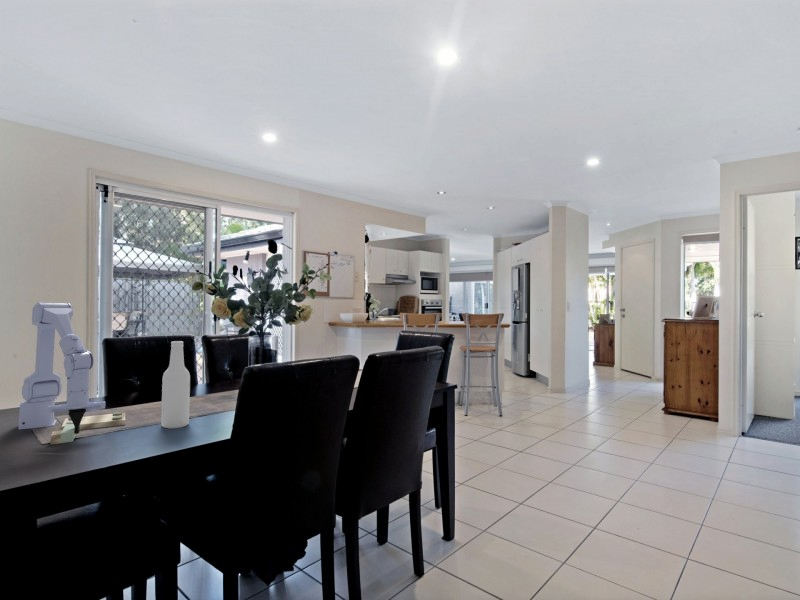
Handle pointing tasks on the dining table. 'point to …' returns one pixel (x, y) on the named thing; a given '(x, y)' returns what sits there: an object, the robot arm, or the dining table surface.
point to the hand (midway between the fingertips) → (76, 433)
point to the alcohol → (175, 390)
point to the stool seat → (92, 424)
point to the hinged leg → (68, 433)
